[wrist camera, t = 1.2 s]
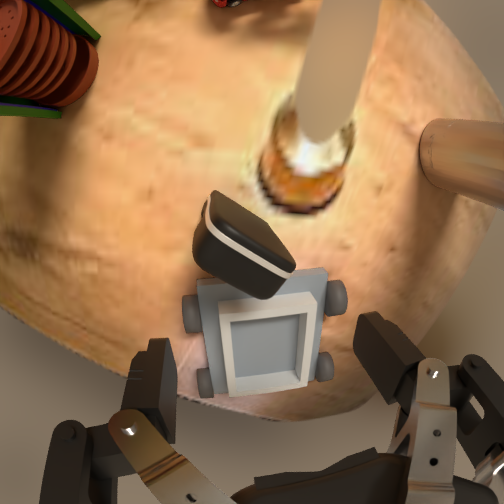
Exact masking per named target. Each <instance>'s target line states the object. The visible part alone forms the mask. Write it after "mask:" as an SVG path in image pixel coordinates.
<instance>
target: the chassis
mask: <svg viewBox="0 0 504 504" xmlns="http://www.w3.org/2000/svg"><path fill="white" fill-rule="evenodd" d="M327 278H328V273H327V271H326V270H325V269H324V268H323V267H322V268H313V269H304V270H294V271H293V274H292V276H291V277H290V278H289V279H287V280H286V281H285V283H284V284H283V285H282V286H281V288H280V289H279V290H278V292H277V293H276V294H275V295H274V296H273V297H272V298H270V299H267V300H260V299H257V298H254V297H252V296H250V295H248V294H246V293H244V292H242V291H240V290H238V289H237V288H235V287H233V286H231V285H229V284H227V283H225V282H224V281H222V280H220V279H218V278H208V279H197V292H198V294H197V295H184V296H183V297H182V314H183V322H184V328H185V331H186V333H197V332H202V327H203V333H204V339H205V346H206V352H207V357H208V363H209V368H201V369H197V382H198V390H199V395H200V398H214V394H222V393H229V398H230V397H240V396H248V395H256V394H264V393H271V392H277V391H283V390H289V389H295V388H300V387H305V386H307V383H308V381H312V380H314V377H316V379H317V381H318V382H323V381H328V380H332V379H333V377H334V364H333V360H332V357H331V355H330V354H329V352H323V353H318V352H319V345H320V338H321V331H322V323H323V315H324V312H325V314H326V315H327V316H329V317H330V316H336V315H342V314H344V313H345V312H346V309H347V304H348V298H347V292H346V288H345V286H344V284H343V282H342V281H341V280H332V281H327ZM213 390H214V391H213Z"/></svg>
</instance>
